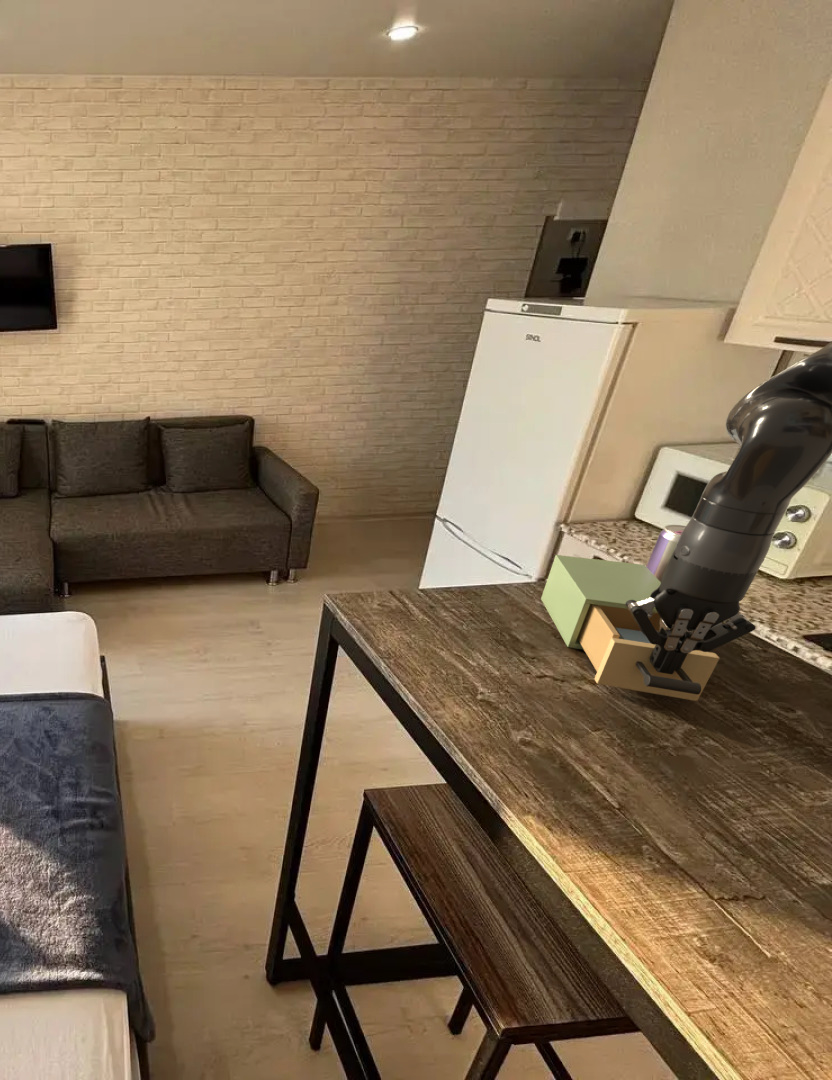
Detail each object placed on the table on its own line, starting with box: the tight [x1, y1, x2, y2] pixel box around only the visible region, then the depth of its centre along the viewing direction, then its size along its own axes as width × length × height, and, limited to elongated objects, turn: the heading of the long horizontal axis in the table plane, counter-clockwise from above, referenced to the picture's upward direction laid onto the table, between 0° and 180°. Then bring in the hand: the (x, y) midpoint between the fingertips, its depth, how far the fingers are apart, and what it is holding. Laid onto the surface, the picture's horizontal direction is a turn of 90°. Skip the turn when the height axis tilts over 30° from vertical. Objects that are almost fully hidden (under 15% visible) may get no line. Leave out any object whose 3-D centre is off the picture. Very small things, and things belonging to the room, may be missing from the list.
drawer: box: [577, 604, 720, 702], centre depth 84 cm, size 19×11×7 cm, turn 159°
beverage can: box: [645, 524, 686, 582], centre depth 98 cm, size 6×6×15 cm
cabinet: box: [540, 554, 661, 651], centre depth 95 cm, size 16×13×9 cm
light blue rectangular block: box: [615, 628, 651, 644], centre depth 85 cm, size 3×6×3 cm, turn 159°
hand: (661, 669), depth 78 cm, fingers closed
